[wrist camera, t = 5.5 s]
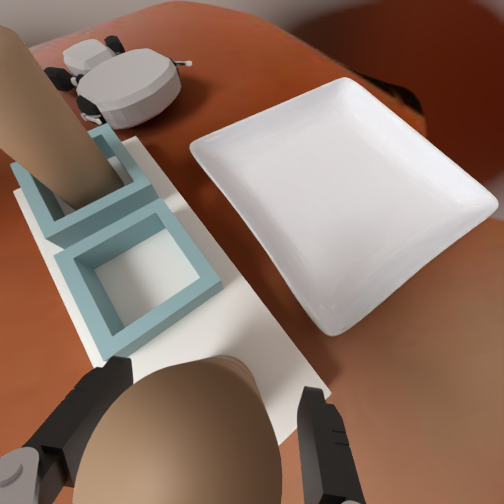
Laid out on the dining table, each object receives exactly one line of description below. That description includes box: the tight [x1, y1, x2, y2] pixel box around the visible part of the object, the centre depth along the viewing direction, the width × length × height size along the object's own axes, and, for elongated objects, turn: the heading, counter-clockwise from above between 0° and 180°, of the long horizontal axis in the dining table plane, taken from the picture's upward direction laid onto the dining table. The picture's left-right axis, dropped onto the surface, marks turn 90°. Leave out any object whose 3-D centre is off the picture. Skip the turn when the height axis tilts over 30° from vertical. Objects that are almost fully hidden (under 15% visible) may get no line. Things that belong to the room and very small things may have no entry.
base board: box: [0, 26, 332, 446], centre depth 14 cm, size 12×29×12 cm, turn 37°
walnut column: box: [72, 355, 282, 504], centre depth 11 cm, size 5×5×11 cm
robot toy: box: [44, 36, 192, 130], centre depth 27 cm, size 12×4×15 cm
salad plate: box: [189, 77, 499, 336], centre depth 23 cm, size 21×21×3 cm
